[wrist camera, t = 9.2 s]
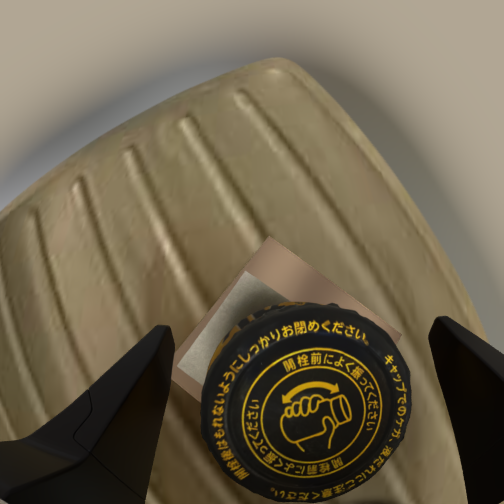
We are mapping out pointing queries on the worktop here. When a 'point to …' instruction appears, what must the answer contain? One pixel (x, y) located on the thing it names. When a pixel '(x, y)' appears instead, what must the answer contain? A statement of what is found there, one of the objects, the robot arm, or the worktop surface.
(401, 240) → the worktop surface
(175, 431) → the worktop surface
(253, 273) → the pinkish brown square block
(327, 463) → the condiment
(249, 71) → the worktop surface
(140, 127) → the worktop surface
